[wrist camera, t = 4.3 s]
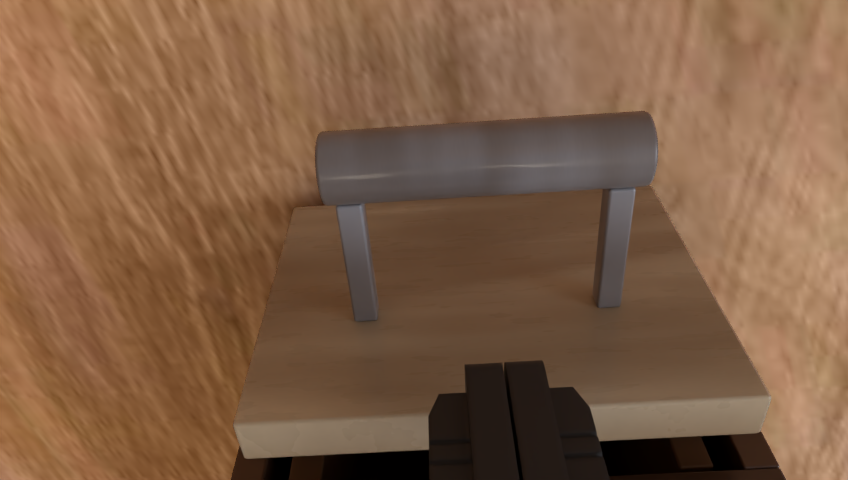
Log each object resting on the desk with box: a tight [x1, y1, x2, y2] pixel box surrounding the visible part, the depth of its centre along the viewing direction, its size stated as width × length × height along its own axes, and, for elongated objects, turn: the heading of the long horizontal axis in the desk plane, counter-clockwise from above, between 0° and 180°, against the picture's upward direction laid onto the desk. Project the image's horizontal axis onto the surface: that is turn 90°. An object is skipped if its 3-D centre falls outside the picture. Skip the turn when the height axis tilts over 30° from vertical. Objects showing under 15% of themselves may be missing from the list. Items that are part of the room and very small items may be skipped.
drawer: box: [233, 111, 771, 480], centre depth 20 cm, size 20×11×9 cm, turn 4°
